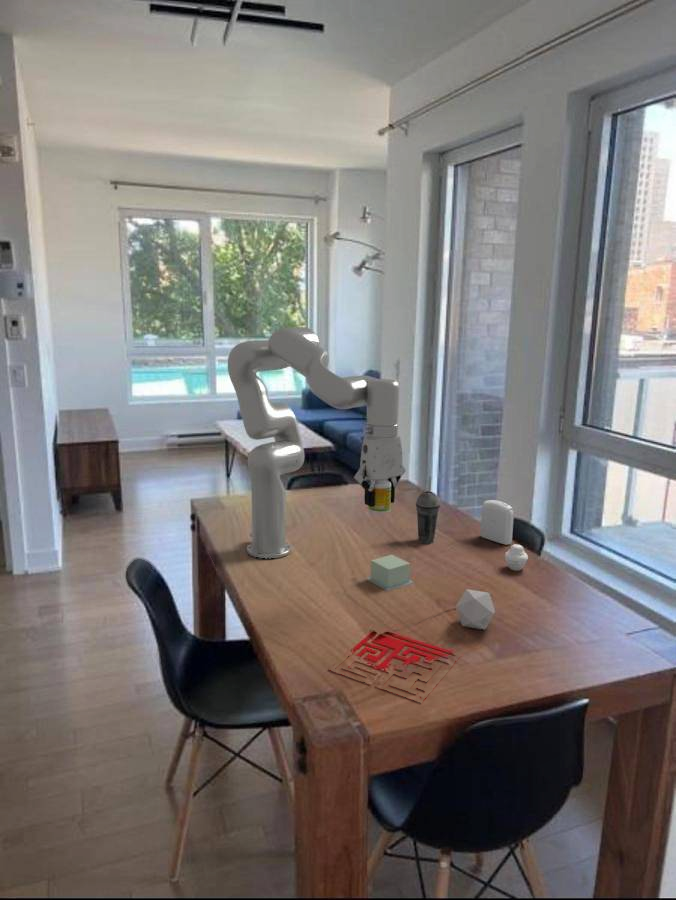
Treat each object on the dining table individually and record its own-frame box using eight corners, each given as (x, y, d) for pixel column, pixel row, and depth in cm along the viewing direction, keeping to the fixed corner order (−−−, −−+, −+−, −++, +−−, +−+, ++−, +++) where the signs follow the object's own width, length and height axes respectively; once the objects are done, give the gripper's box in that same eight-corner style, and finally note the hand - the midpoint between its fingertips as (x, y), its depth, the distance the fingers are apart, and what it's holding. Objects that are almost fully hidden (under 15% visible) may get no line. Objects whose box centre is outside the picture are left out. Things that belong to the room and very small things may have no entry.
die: (475, 641, 142) (503, 606, 141) (444, 614, 145) (471, 580, 144) (479, 637, 149) (505, 604, 149) (449, 611, 152) (475, 579, 152)
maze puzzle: (327, 672, 128) (328, 669, 128) (376, 630, 145) (376, 628, 145) (421, 706, 118) (421, 702, 118) (461, 657, 135) (462, 654, 135)
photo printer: (477, 536, 204) (480, 498, 201) (486, 533, 206) (489, 496, 204) (505, 546, 196) (508, 507, 193) (513, 543, 199) (517, 504, 196)
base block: (370, 578, 168) (371, 560, 167) (391, 572, 172) (391, 554, 171) (388, 588, 163) (389, 569, 161) (409, 581, 167) (410, 563, 165)
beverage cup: (411, 543, 197) (414, 479, 193) (417, 535, 204) (420, 473, 199) (434, 546, 194) (438, 481, 190) (440, 538, 201) (444, 476, 197)
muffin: (527, 573, 176) (529, 549, 175) (504, 571, 177) (506, 547, 176) (526, 565, 182) (528, 541, 181) (503, 563, 183) (505, 539, 182)
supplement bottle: (388, 515, 158) (389, 476, 156) (366, 513, 159) (367, 474, 157) (391, 508, 163) (393, 470, 161) (370, 506, 164) (371, 469, 162)
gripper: (362, 437, 149) (360, 513, 153) (419, 430, 159) (415, 501, 163) (343, 431, 155) (342, 505, 159) (399, 425, 165) (396, 494, 169)
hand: (379, 502), depth 161 cm, fingers closed on supplement bottle, 5 cm apart
